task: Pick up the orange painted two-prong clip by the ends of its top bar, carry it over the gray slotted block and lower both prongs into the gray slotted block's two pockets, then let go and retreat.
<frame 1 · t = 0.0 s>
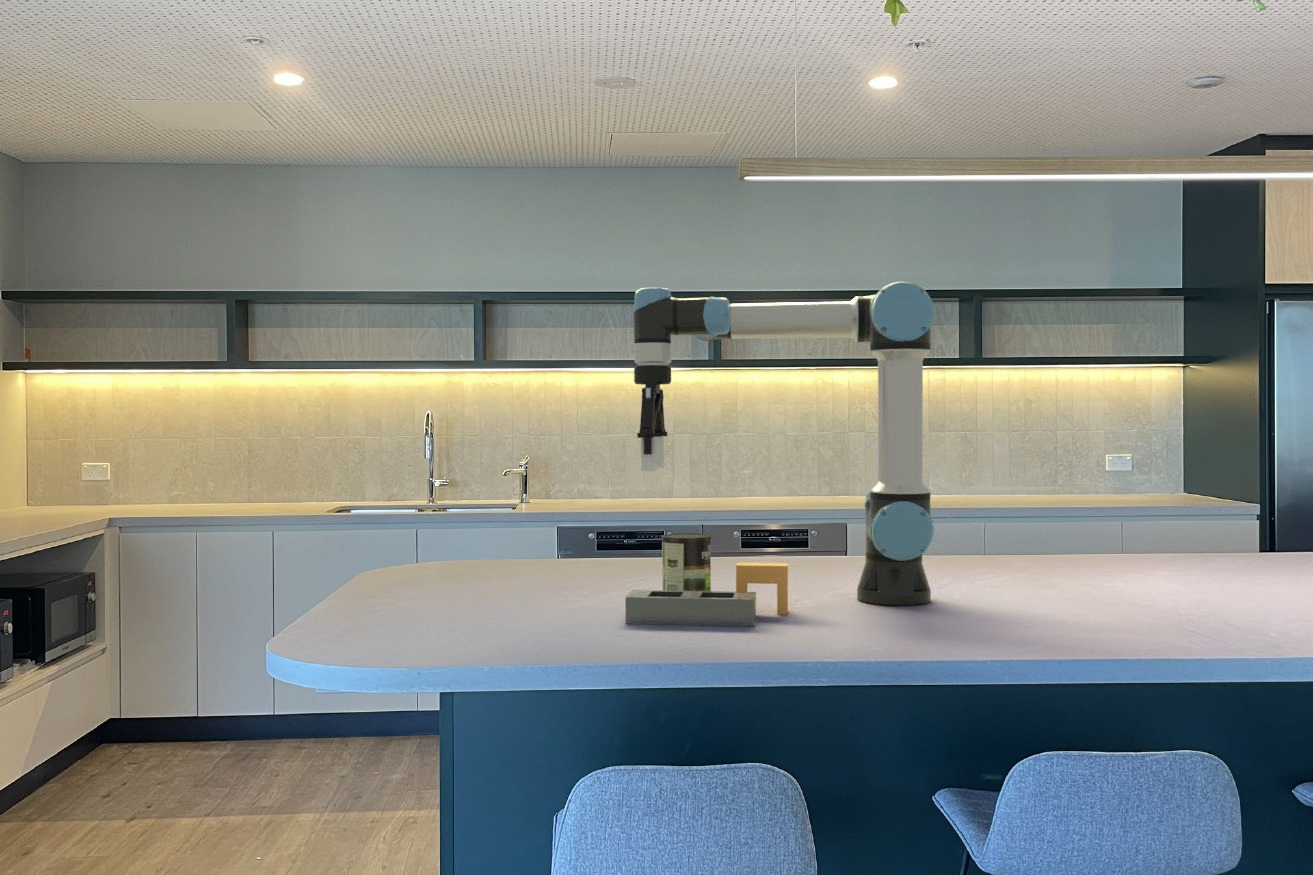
hand: (653, 469, 218), 28 cm above the worktop, fingers open, 13 cm apart
clip: (762, 612, 212), on the worktop
gray slotted block: (691, 620, 203), on the worktop
coffee can: (686, 603, 223), on the worktop
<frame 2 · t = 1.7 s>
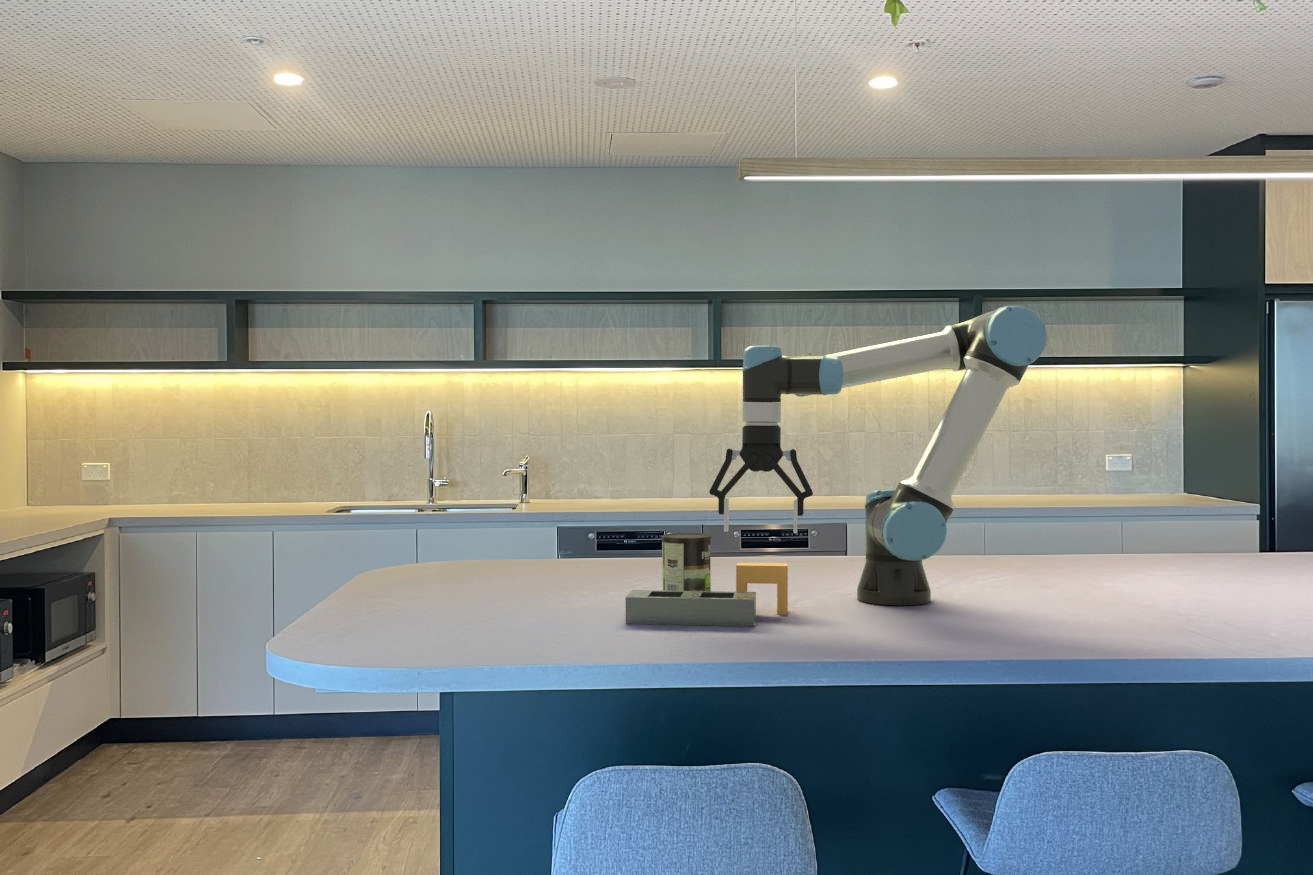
hand: (760, 532, 211), 16 cm above the worktop, fingers open, 13 cm apart
nothing on the worktop moved.
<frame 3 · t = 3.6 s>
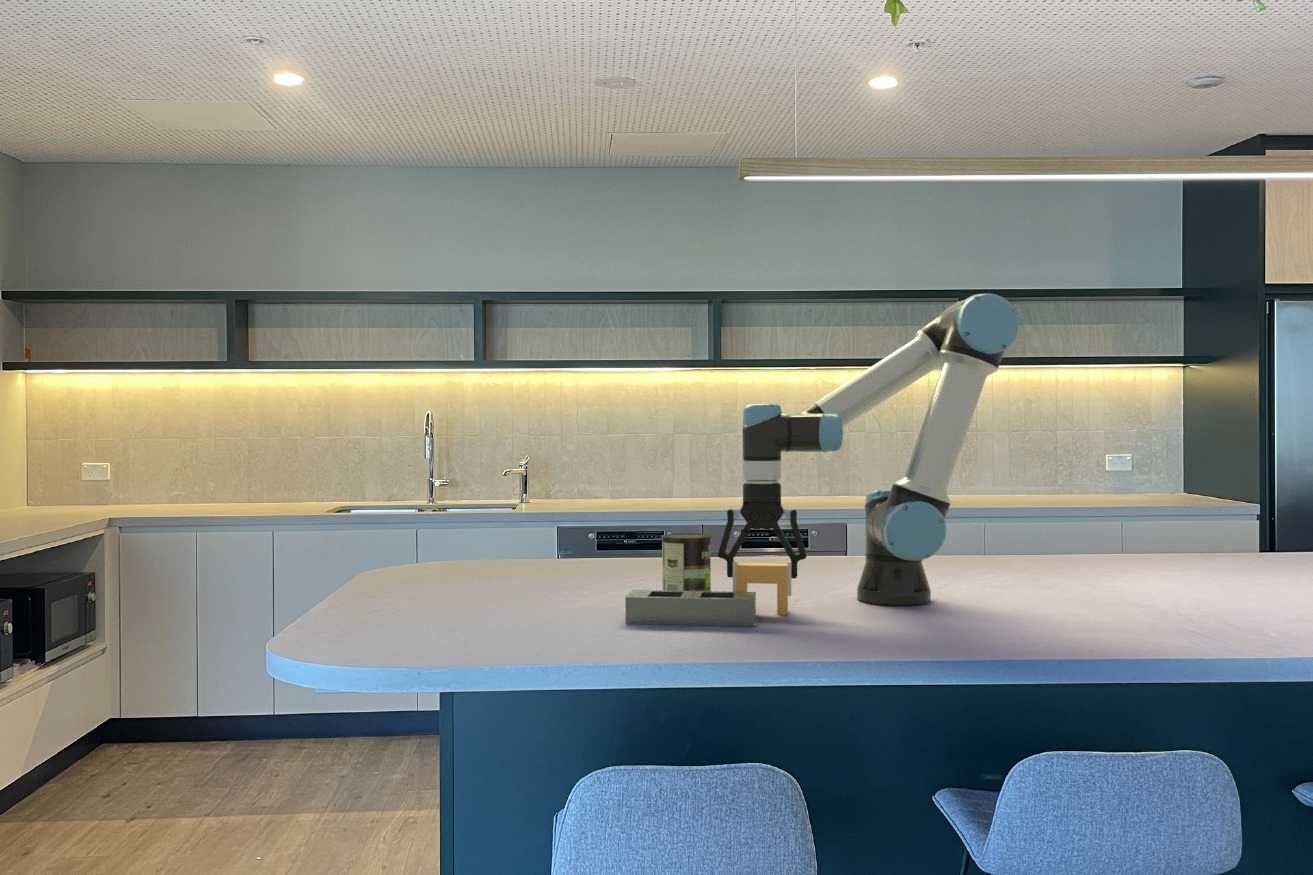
hand: (762, 594, 212), 4 cm above the worktop, fingers closed on clip, 10 cm apart
clip: (762, 612, 212), on the worktop, touching gripper
everything else where it was.
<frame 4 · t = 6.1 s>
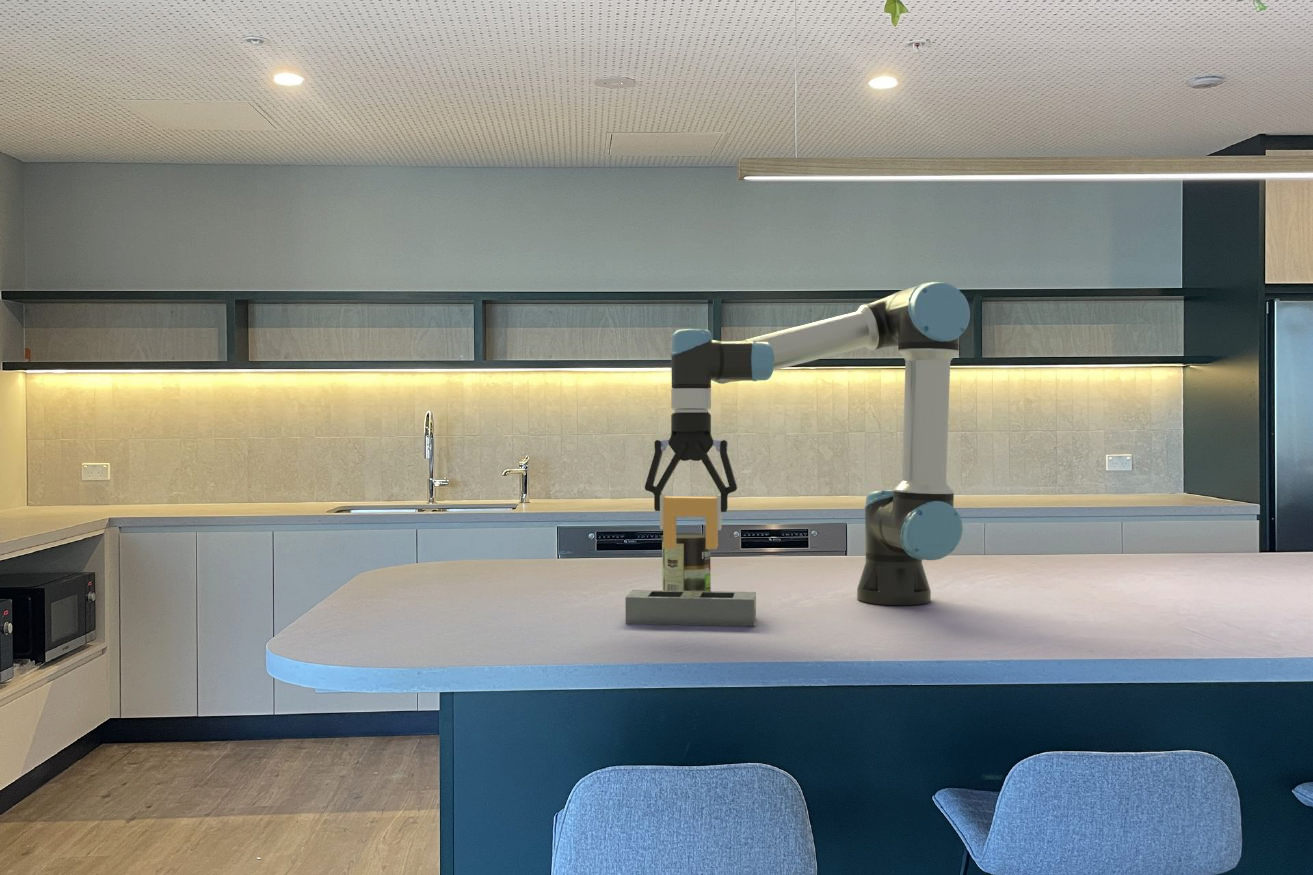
hand: (690, 528, 203), 17 cm above the worktop, fingers closed on clip, 10 cm apart
clip: (690, 547, 203), point 14 cm above the worktop, touching gripper
everything else where it was.
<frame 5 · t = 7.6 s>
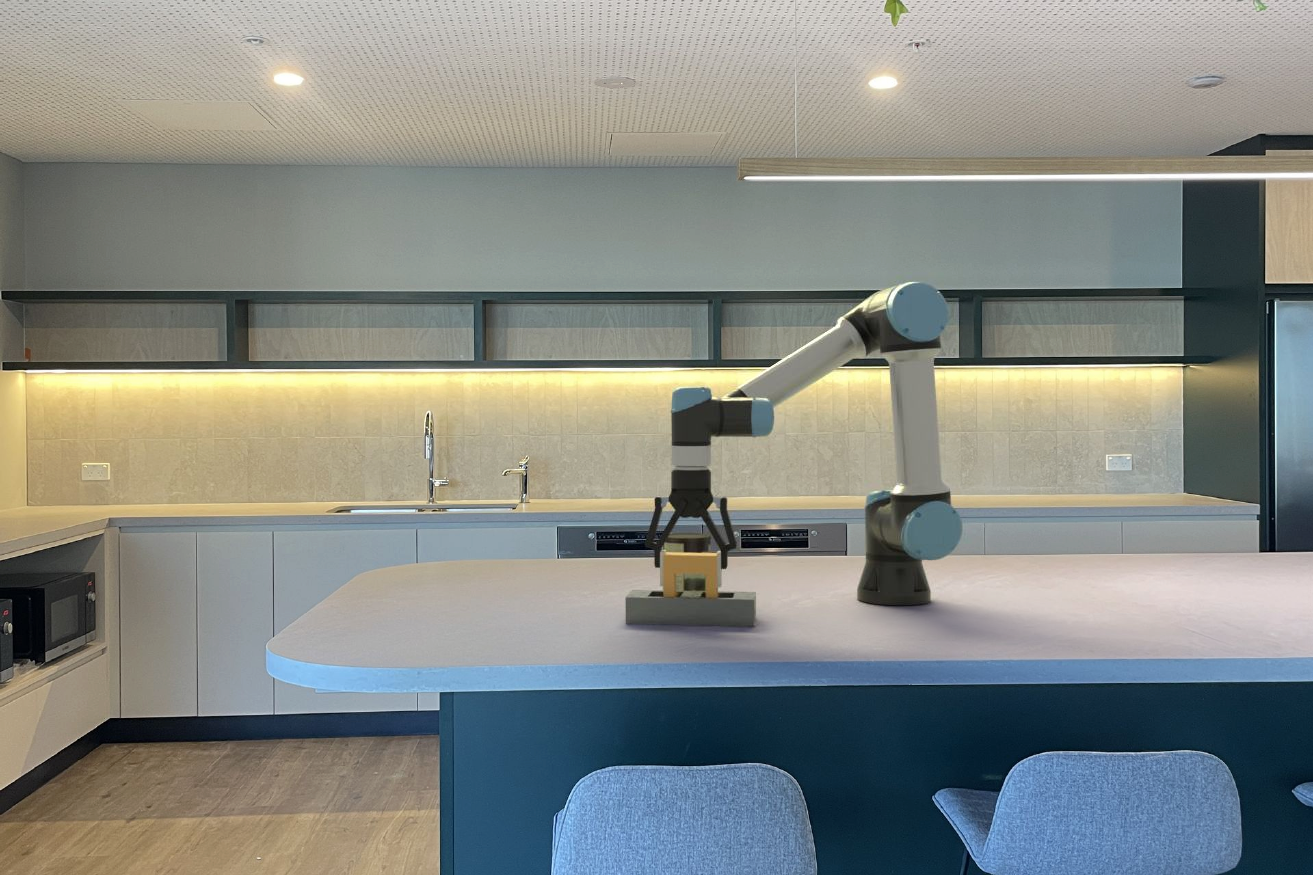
hand: (690, 585, 203), 7 cm above the worktop, fingers closed on clip, 10 cm apart
clip: (690, 603, 203), point 3 cm above the worktop, touching gripper
everything else where it was.
when the fingers open (6 cm above the worktop, at t = 8.6 s): clip drops 1 cm, resting on gray slotted block.
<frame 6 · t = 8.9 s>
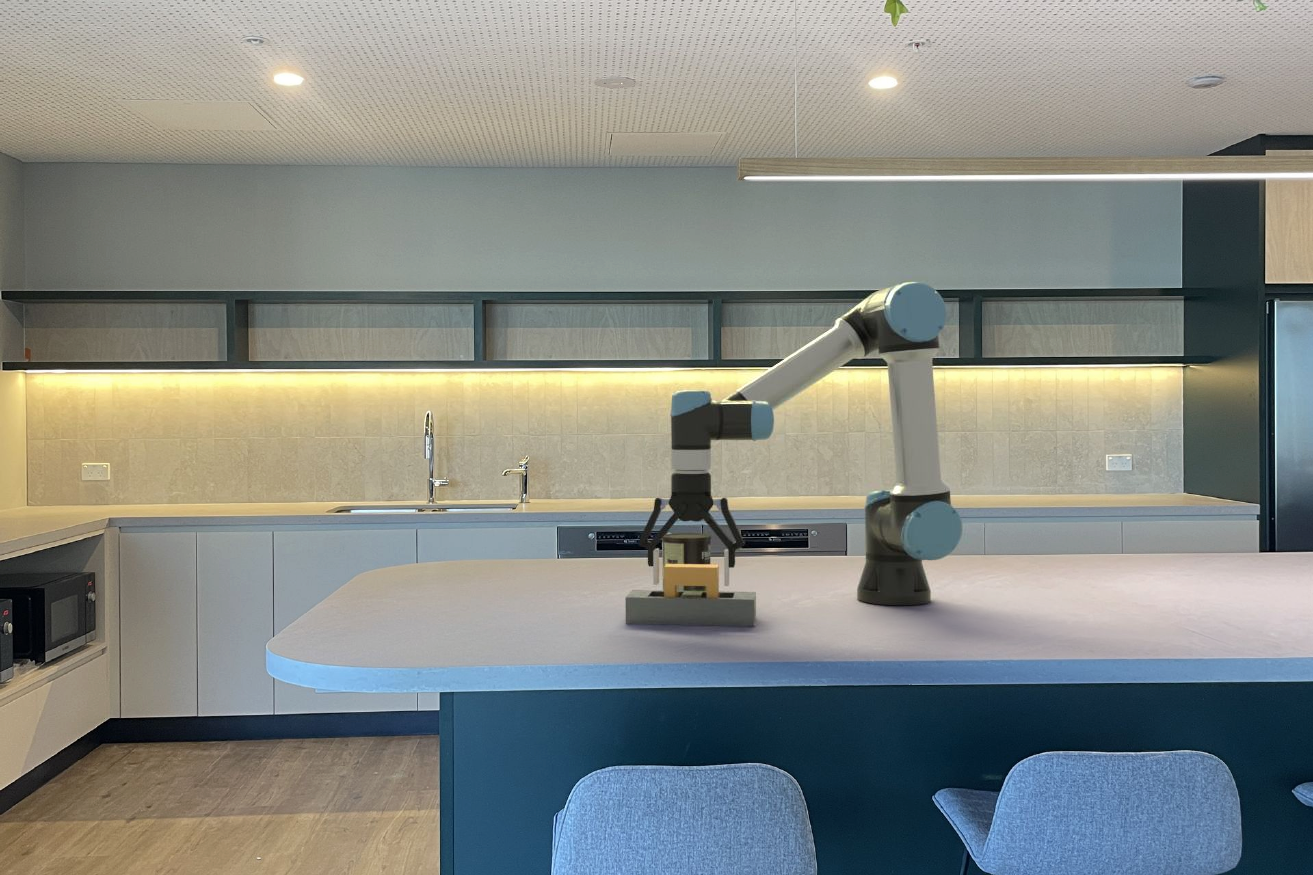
hand: (691, 584, 203), 7 cm above the worktop, fingers open, 13 cm apart
clip: (691, 615, 203), point 1 cm above the worktop, touching gray slotted block
everything else where it was.
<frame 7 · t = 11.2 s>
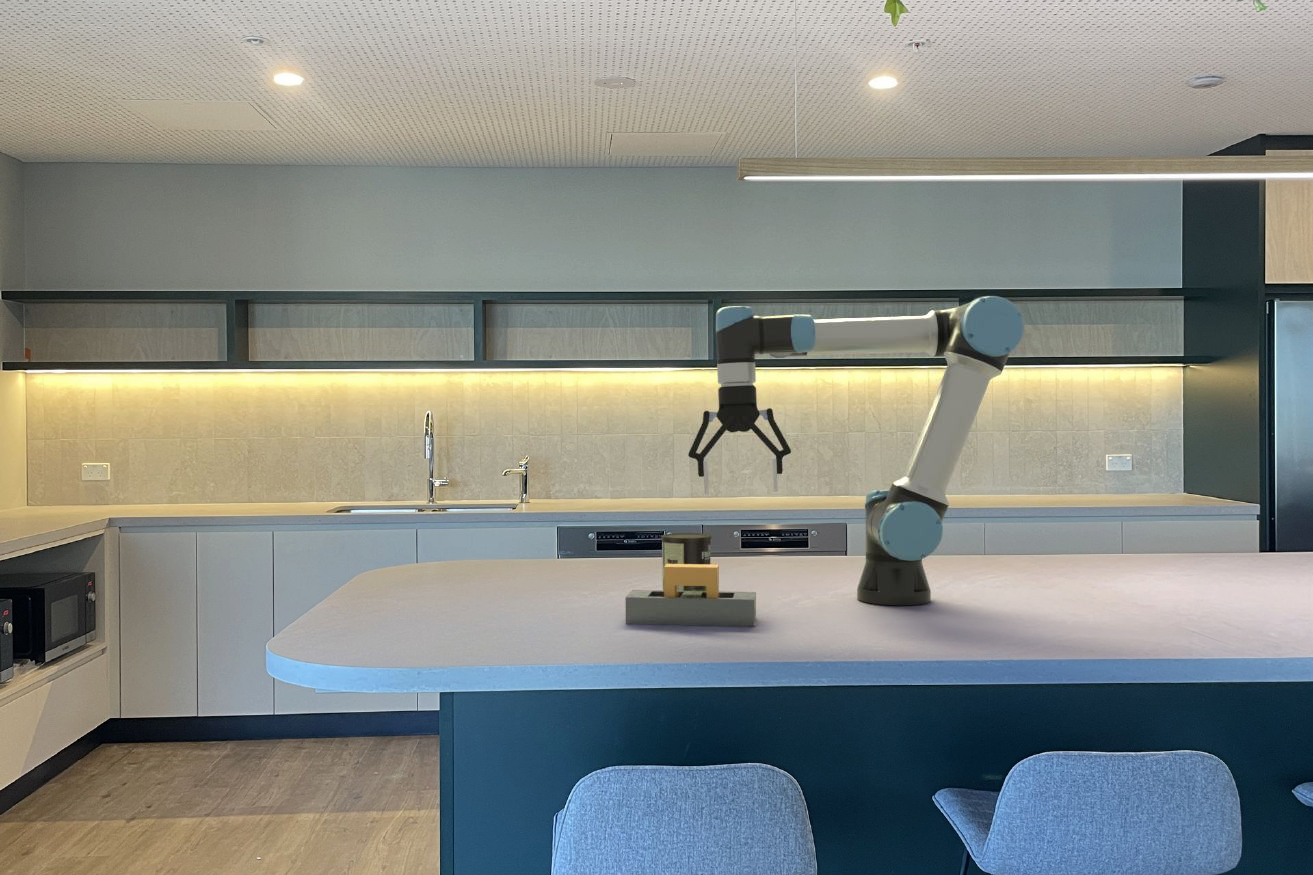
hand: (741, 492, 213), 24 cm above the worktop, fingers open, 13 cm apart
nothing on the worktop moved.
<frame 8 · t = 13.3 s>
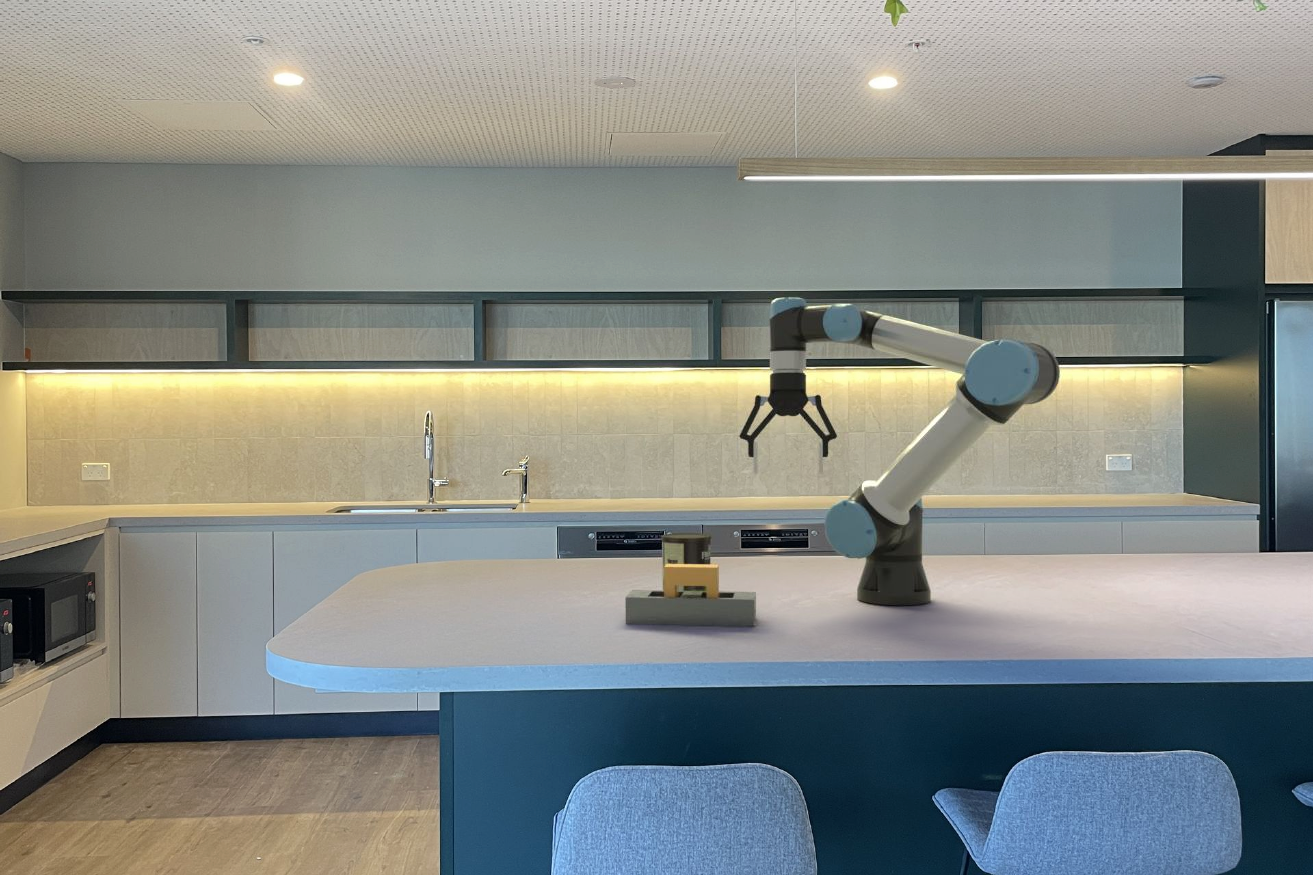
hand: (788, 473, 225), 27 cm above the worktop, fingers open, 13 cm apart
nothing on the worktop moved.
at the end: clip 0.0 cm off-centre on the gray slotted block, point 1.0 cm above the gray slotted block's base; clip tilted 0°; the gripper is holding nothing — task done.
